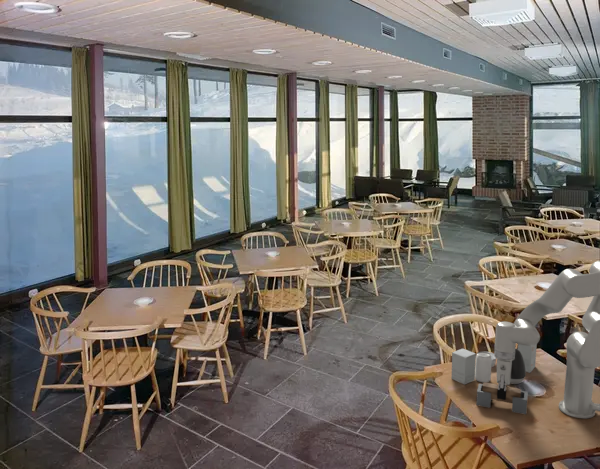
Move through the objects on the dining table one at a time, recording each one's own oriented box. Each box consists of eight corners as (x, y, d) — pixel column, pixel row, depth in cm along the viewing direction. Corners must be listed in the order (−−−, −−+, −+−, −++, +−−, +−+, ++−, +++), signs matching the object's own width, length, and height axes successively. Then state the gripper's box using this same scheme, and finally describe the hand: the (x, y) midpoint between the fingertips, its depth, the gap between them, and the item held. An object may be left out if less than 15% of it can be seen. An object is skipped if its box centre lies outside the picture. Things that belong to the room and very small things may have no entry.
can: (491, 383, 227) (493, 357, 225) (475, 382, 229) (477, 356, 226) (489, 376, 234) (490, 351, 231) (474, 375, 235) (475, 350, 232)
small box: (521, 363, 246) (522, 337, 244) (535, 366, 242) (537, 340, 240) (515, 369, 240) (517, 342, 237) (530, 373, 236) (532, 346, 233)
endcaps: (526, 405, 209) (527, 391, 208) (526, 414, 203) (527, 400, 202) (478, 397, 216) (478, 383, 215) (476, 405, 210) (477, 391, 209)
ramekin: (500, 366, 243) (500, 357, 242) (483, 369, 241) (484, 360, 240) (488, 358, 252) (488, 350, 251) (472, 361, 249) (472, 352, 248)
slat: (519, 400, 208) (521, 389, 207) (519, 404, 205) (520, 393, 204) (482, 393, 214) (483, 381, 212) (481, 397, 210) (482, 385, 209)
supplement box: (475, 380, 231) (476, 353, 228) (464, 385, 227) (465, 357, 224) (461, 374, 237) (462, 347, 234) (450, 378, 233) (451, 352, 230)
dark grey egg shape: (495, 381, 229) (497, 348, 226) (507, 373, 236) (509, 342, 233) (517, 389, 222) (520, 356, 219) (529, 381, 228) (531, 348, 225)
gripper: (513, 363, 196) (510, 408, 200) (515, 346, 211) (512, 388, 215) (492, 360, 199) (489, 404, 203) (496, 344, 214) (493, 385, 218)
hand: (501, 396), depth 209 cm, fingers closed on slat, 3 cm apart
